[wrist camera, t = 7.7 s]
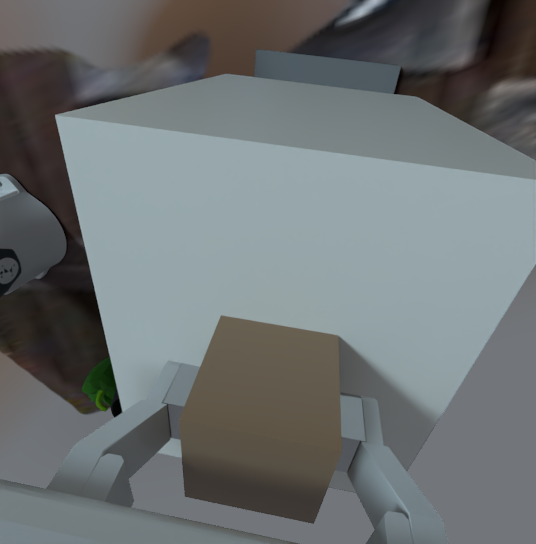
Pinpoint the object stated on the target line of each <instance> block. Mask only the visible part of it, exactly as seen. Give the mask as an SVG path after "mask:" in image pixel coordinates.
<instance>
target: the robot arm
mask: <svg viewBox="0 0 536 544" xmlns="http://www.w3.org/2000/svg"><path fill="white" fill-rule="evenodd" d="M65 253H66V238H65V234H64V231H63V229H62V227H61V225H60V223H59V222H58V220H57V219H56V217H55V216H54V215H53V213H52V212H51V211H50V210H49V209H48V208H47V207H46V206H45V205H44V204H42V203H41V202H40V201H39V200H37V199H36V198H34V197H33V196H32V195H30V194H29V193H28V192H26V191H25V189H24V188H23V187H22V186H21V185H20V184H19V182H18V181H17V180H16V179H15V178H14V177H12V176H11V175H9V174H0V297H1V296H3V295H4V294H9V293H11V292H12V291H14V290H16V289H17V288H19V287H20V286H22V285H24V284H25V283H27V282H29V281H30V280H32V279H33V278H36V279H40V278H42V277H44V276H45V275H46V274H47V272H48V270H49V268H50V267H52V266H54V265H56V264H57V263H59V262H60V261H61V260H62V259H63V257H64V255H65ZM199 369H200V367H198V366H194V365H189V364H184V363H179V362H174V361H169V360H168V362H167V363H166V364H165V365H164V367H163V369H162V371H161V373H160V375H159V376H158V378H157V380H156V382H155V384H154V386H153V388H152V390H151V392H150V394H149V396H148V398H147V399H146V400H143V399H142V400H140V401H139V402H137V403H136V404H134V405H133V406H131V407H130V408H128V409H127V410H125V411H124V412H122V413H121V414H120V415H118V416H117V417H115V418H114V419H112V420H111V421H109V422H108V423H106V424H105V425H103V426H102V427H100V428H99V429H97V430H96V431H94V432H93V433H91V434H90V435H88V436H87V437H86V438H84V439H83V440H81V441H79V442H78V443H77V444H75V445H74V447H73V448H72V450H71V451H70V453H69V454H68V456H67V457H66V459H65V461H64V462H63V464H62V465H61V467H60V468H59V470H58V472H57V473H56V474H55V476H54V478H53V479H52V481H51V482H50V484H49V485H48V487H47V488H46V489H44V488H39V487H34V486H30V485H25V484H21V483H16V482H11V481H7V480H2V479H0V544H298V543H293V542H288V541H284V540H280V539H275V538H270V537H265V536H261V535H256V534H252V533H247V532H243V531H238V530H234V529H229V528H224V527H220V526H215V525H210V524H206V523H201V522H197V521H192V520H187V519H182V518H178V517H174V516H169V515H164V514H160V513H155V512H150V511H145V510H141V509H136V508H132V507H131V506H132V504H133V502H134V499H133V495H132V491H131V488H130V483H129V478H130V477H131V476H132V475H133V474H135V473H136V472H137V471H138V470H139V469H140V468H141V467H142V466H143V465H144V464H145V463H146V462H147V461H148V460H149V459H150V458H151V457H153V456H154V455H155V454H156V453H157V452H158V451H159V450H160V449H161V448H162V447H163V446H164V445H165V444H166V443H168V442H169V441H170V440H171V439H170V438H174V439H180V428H179V418H180V416H181V413H182V411H183V408H184V406H185V403H186V401H187V398H188V396H189V393H190V391H191V388H192V386H193V383H194V381H195V378H196V376H197V374H198V371H199ZM340 406H341V435H342V453H341V456H340V458H339V461H338V463H337V466H336V468H335V470H336V471H340V472H344V473H347V476H348V477H349V479H350V481H351V483H352V485H353V487H354V489H355V491H356V493H357V495H358V497H359V499H360V501H361V503H362V505H363V507H364V509H365V511H366V513H367V515H368V517H369V519H370V521H371V523H372V525H373V527H374V529H375V530H374V532H373V533H372V535H371V537H370V538H369V540H368V541H367V543H366V544H448V540H447V536H446V531H445V527H444V523H443V520H442V519H441V518H440V516H439V515H438V513H437V512H436V511H435V509H434V508H433V507H432V505H431V504H430V503H429V501H428V500H427V499H426V497H425V496H424V495H423V493H422V492H421V490H420V489H419V488H418V486H417V485H416V483H415V482H414V481H413V480H412V478H411V477H410V475H409V474H408V473H407V471H406V470H405V468H404V467H403V466H402V464H401V463H400V462H399V460H398V459H397V458H396V456H395V455H394V453H393V452H392V451H391V449H390V448H389V447H387V446H384V442H383V435H382V428H381V421H380V414H379V408H378V402H377V400H376V399H375V398H369V397H364V396H360V395H354V394H348V393H343V392H340Z"/></svg>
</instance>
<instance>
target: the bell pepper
mask: <svg viewBox="0 0 536 544" xmlns="http://www.w3.org/2000/svg"><path fill="white" fill-rule="evenodd" d="M116 387H117V386H116V381H115V377H114V372H113V368H112V364H111V359H110V357H108V358H106V359H104V360H103V361H101V362H100V363H99V364H98V365H97V366H95V367H94V368H93V369H92V371H91V372H90V373H89V374H88V376H87V378H86V380H85V382H84V384H83V387H82V392H84V393H86V394H87V395H88V396H89V398H90V399H91V401H92V402H96V405H97V407H98V408H99V409H100V410H102V411H107V409H108V407H107V406H104V405H103V404H102V402H105V403H106V404H108V405H110V406H111V404H112V400H113V396H114V393H115V390H116Z"/></svg>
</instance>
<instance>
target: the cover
mask: <svg viewBox="0 0 536 544" xmlns="http://www.w3.org/2000/svg"><path fill="white" fill-rule="evenodd" d="M55 117H56V121H57V126H58V130H59V134H60V139H61V143H62V148H63V152H64V156H65V161H66V165H67V170H68V174H69V178H70V183H71V187H72V192H73V196H74V201H75V205H76V209H77V214H78V218H79V223H80V227H81V231H82V236H83V240H84V245H85V249H86V253H87V258H88V262H89V267H90V271H91V275H92V280H93V284H94V289H95V293H96V297H97V302H98V306H99V311H100V315H101V319H102V324H103V328H104V333H105V337H106V342H107V346H108V350H109V355H110V359H111V364H112V368H113V372H114V377H115V381H116V386H117V390H118V394H119V399H120V403H121V408H122V412H124V411H125V410H127V409H128V408H130V407H131V406H133V405H134V404H136V403H137V402H139V401H140V400H142V399H143V400H146V399H147V398H148V396H149V394H150V392H151V390H152V388H153V386H154V384H155V382H156V380H157V378H158V376H159V375H160V373H161V371H162V369H163V367H164V365H165V364H166V363H167V362H168V360H169V361H174V362H179V363H184V364H189V365H194V366H198V367H200V369H199V371H198V374H197V376H196V378H195V381H194V383H193V386H192V388H191V391H190V393H189V396H188V398H187V401H186V403H185V406H184V408H183V411H182V413H181V416H180V418H179V428H180V439H174V438H170V439H171V440H170V441H169V442H168V443H166V444H165V445H164V446H163V447H162V448H161V449H160V450H159V451H158V452H157V453H161V454H166V455H171V456H176V457H181V458H182V465H183V478H184V490H185V497H190V498H194V499H199V500H204V501H208V502H213V503H218V504H223V505H228V506H232V507H237V508H242V509H247V510H251V511H256V512H261V513H265V514H271V515H275V516H280V517H285V518H289V519H294V520H299V521H303V522H308V523H314V522H315V519H316V517H317V514H318V512H319V509H320V506H321V504H322V501H323V498H324V496H325V494H326V491H327V489H328V487H329V488H334V489H339V490H344V491H349V492H354V493H356V491H355V489H354V487H353V485H352V483H351V481H350V479H349V477H348V476H347V473H344V472H340V471H336V470H335V468H336V466H337V463H338V461H339V458H340V456H341V453H342V435H341V406H340V392H343V393H348V394H354V395H360V396H364V397H369V398H375V399H376V400H377V402H378V408H379V414H380V421H381V428H382V435H383V442H384V446H387V447H389V448H390V449H391V451H392V452H393V453H394V455H395V456H396V458H397V459H398V460H399V462H400V463H401V464H402V466H403V467H404V468H405V470H406V471H408V469H409V467H410V466H411V464H412V463H413V461H414V459H415V458H416V456H417V455H418V453H419V451H420V450H421V448H422V446H423V445H424V443H425V442H426V440H427V438H428V437H429V435H430V434H431V432H432V430H433V429H434V427H435V425H436V424H437V422H438V421H439V419H440V417H441V416H442V414H443V413H444V411H445V409H446V408H447V406H448V405H449V403H450V401H451V400H452V398H453V396H454V395H455V393H456V392H457V390H458V388H459V387H460V385H461V384H462V382H463V380H464V379H465V377H466V375H467V374H468V372H469V371H470V369H471V367H472V366H473V364H474V362H475V361H476V359H477V358H478V356H479V355H480V353H481V351H482V350H483V348H484V346H485V345H486V343H487V341H488V340H489V338H490V337H491V335H492V334H493V332H494V330H495V329H496V327H497V325H498V324H499V322H500V321H501V319H502V317H503V316H504V314H505V313H506V311H507V309H508V308H509V306H510V305H511V303H512V301H513V300H514V298H515V296H516V295H517V293H518V292H519V290H520V288H521V287H522V285H523V284H524V282H525V280H526V279H527V277H528V275H529V274H530V272H531V271H532V269H533V267H534V266H535V264H536V160H534V159H532V158H530V157H528V156H526V155H524V154H522V153H521V152H519V151H517V150H515V149H513V148H511V147H509V146H508V145H506V144H504V143H502V142H500V141H498V140H496V139H495V138H493V137H491V136H489V135H487V134H485V133H483V132H482V131H480V130H478V129H476V128H474V127H472V126H470V125H469V124H467V123H465V122H463V121H461V120H459V119H457V118H455V117H454V116H452V115H450V114H448V113H446V112H444V111H442V110H441V109H439V108H437V107H435V106H433V105H431V104H429V103H428V102H426V101H424V100H422V99H420V98H418V97H414V96H405V95H397V94H389V93H381V92H373V91H364V90H356V89H348V88H340V87H331V86H323V85H315V84H307V83H299V82H290V81H282V80H274V79H266V78H258V77H248V76H241V75H233V74H223V75H219V76H215V77H211V78H206V79H202V80H198V81H194V82H190V83H186V84H182V85H177V86H173V87H169V88H165V89H161V90H157V91H153V92H148V93H144V94H140V95H136V96H132V97H128V98H124V99H119V100H115V101H111V102H107V103H103V104H99V105H95V106H90V107H86V108H82V109H78V110H74V111H70V112H66V113H62V114H57V115H55Z"/></svg>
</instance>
